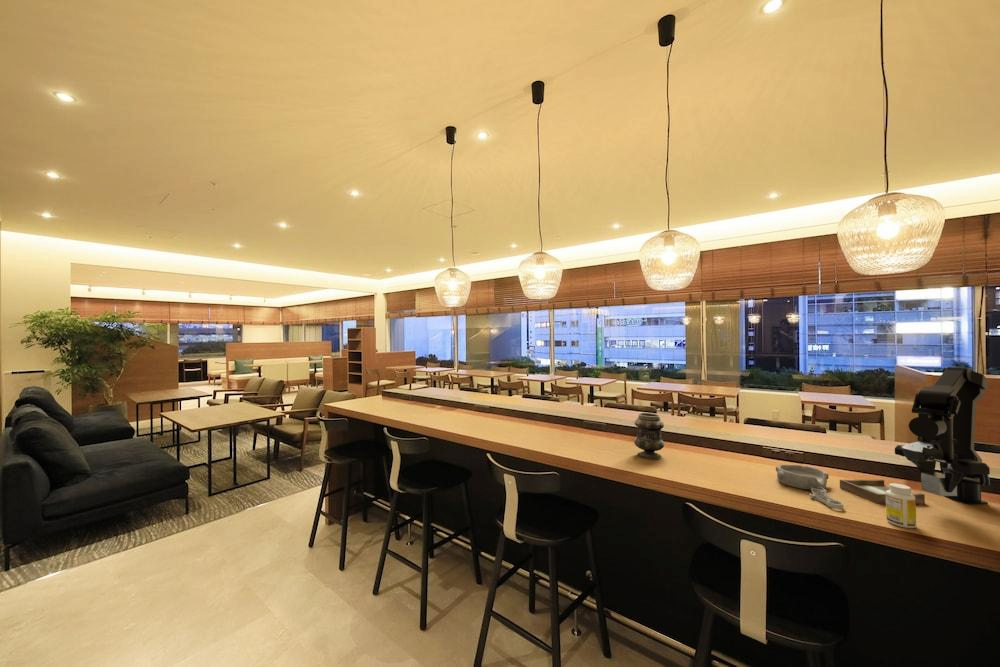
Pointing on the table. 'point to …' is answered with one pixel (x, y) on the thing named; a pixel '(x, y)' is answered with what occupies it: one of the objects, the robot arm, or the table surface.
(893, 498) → the supplement bottle
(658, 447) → the apothecary jar
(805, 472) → the dish
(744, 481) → the table surface
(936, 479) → the clip
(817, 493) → the bracket
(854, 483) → the brown square tray
